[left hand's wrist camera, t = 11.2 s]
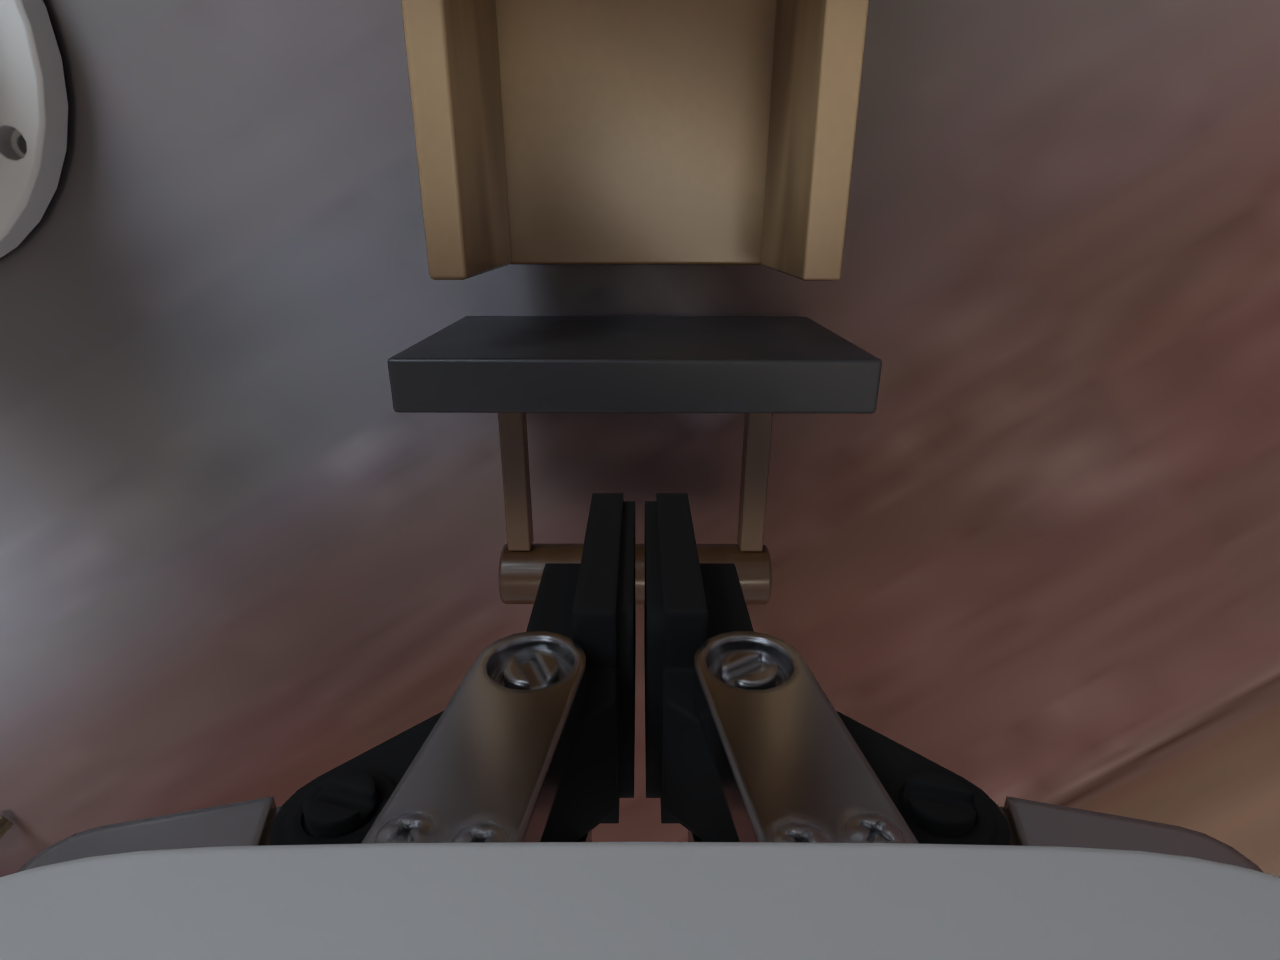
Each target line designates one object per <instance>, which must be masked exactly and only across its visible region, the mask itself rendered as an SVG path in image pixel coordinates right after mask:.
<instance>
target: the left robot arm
mask: <svg viewBox="0 0 1280 960" xmlns="http://www.w3.org/2000/svg"><path fill="white" fill-rule="evenodd" d="M67 127H68V100H67V93H66V86H65V79H64V71H63V64H62V58H61V55H60V51H59V48H58V45H57V41H56V38H55V35H54V32H53V28H52V25H51V22H50V18H49V15H48V12H47V9H46V6H45V4H44V2H43V0H0V258H1V257H3V256H4V255H6V254H7V253H9V252H10V251H12V250H13V249H15V248H16V247H18V246H19V244H20V243H21V242H22V241H23V240H24V239H25V238H26V236H27V235H28V234H29V233H30V232H31V231H32V230H33V229H34V227H35V226H36V225H37V224H38V223H39V222H40V221H41V219H42V217H43V215H44V213H45V211H46V209H47V207H48V205H49V203H50V201H51V199H52V197H53V195H54V193H55V191H56V189H57V186H58V182H59V178H60V174H61V170H62V166H63V162H64V158H65V154H66V150H67ZM635 644H636V629H635V501H623V494H593V495H592V500H591V506H590V512H589V518H588V523H587V529H586V535H585V541H584V546H583V552H582V558H581V563H546V564H545V567H544V570H543V574H542V577H541V581H540V584H539V588H538V592H537V595H536V599H535V602H534V606H533V610H532V613H531V617H530V620H529V624H528V628H527V631H526V632H524V633H518V634H513V635H510V636H508V637H505V638H502V639H499V640H498V641H496V642H494V643H493V644H491V645H490V646H488V647H486V648H485V649H484V651H483V652H482V653H481V654H480V655H479V656H478V657H477V659H476V660H475V662H474V664H473V665H472V667H471V668H470V670H469V672H468V673H467V675H466V676H465V678H464V680H463V681H462V683H461V684H460V686H459V688H458V689H457V691H456V692H455V694H454V696H453V697H452V699H451V700H450V702H449V704H448V705H447V707H446V708H445V710H444V711H442V712H440V713H439V714H437V715H435V716H433V717H431V718H429V719H427V720H425V721H423V722H422V723H420V724H418V725H416V726H414V727H412V728H410V729H408V730H406V731H404V732H403V733H401V734H399V735H397V736H395V737H393V738H391V739H389V740H387V741H386V742H384V743H382V744H380V745H378V746H376V747H374V748H372V749H370V750H368V751H367V752H365V753H363V754H361V755H359V756H357V757H355V758H353V759H351V760H350V761H348V762H346V763H344V764H342V765H340V766H338V767H336V768H334V769H332V770H331V771H329V772H327V773H325V774H323V775H321V776H319V777H317V778H316V779H314V780H313V781H311V782H310V783H308V784H307V785H305V786H303V787H302V788H300V789H299V790H298V791H297V792H296V793H295V794H293V795H292V796H291V797H290V798H289V799H288V800H287V801H286V802H285V803H284V804H283V805H282V806H281V807H276V805H275V801H274V797H267V798H261V799H255V800H250V801H244V802H238V803H232V804H227V805H221V806H215V807H209V808H204V809H198V810H192V811H186V812H181V813H175V814H169V815H163V816H158V817H152V818H146V819H140V820H135V821H129V822H123V823H117V824H111V825H106V826H100V827H97V828H93V829H90V830H87V831H83V832H80V833H76V834H74V835H72V836H70V837H68V838H66V839H64V840H62V841H60V842H58V843H56V844H54V845H52V846H50V847H48V848H46V849H45V850H43V851H42V852H41V853H39V854H38V855H37V856H35V857H34V858H33V859H31V860H30V861H28V862H27V863H26V864H24V865H23V866H22V867H21V868H20V869H19V870H18V871H17V873H14V874H10V875H7V876H3V877H0V960H1280V877H1277V876H1273V875H1270V874H1266V873H1263V871H1262V870H1261V869H1260V868H1259V867H1258V866H1257V865H1256V864H1254V863H1253V862H1252V861H1250V860H1249V859H1247V858H1246V857H1245V856H1243V855H1242V854H1241V853H1239V852H1238V851H1237V850H1235V849H1234V848H1232V847H1230V846H1228V845H1226V844H1224V843H1222V842H1220V841H1218V840H1216V839H1214V838H1212V837H1210V836H1208V835H1206V834H1204V833H1200V832H1197V831H1193V830H1190V829H1187V828H1183V827H1180V826H1174V825H1169V824H1163V823H1157V822H1151V821H1145V820H1140V819H1134V818H1128V817H1122V816H1117V815H1111V814H1105V813H1099V812H1094V811H1088V810H1082V809H1076V808H1071V807H1065V806H1059V805H1053V804H1048V803H1042V802H1036V801H1030V800H1025V799H1019V798H1013V797H1006V801H1005V805H1004V807H999V806H998V805H997V804H996V803H995V802H994V801H993V800H992V799H991V798H990V797H989V796H988V795H986V794H985V793H984V792H983V791H982V790H981V789H980V788H978V787H977V786H975V785H973V784H972V783H970V782H969V781H967V780H966V779H964V778H963V777H961V776H959V775H957V774H955V773H953V772H951V771H949V770H948V769H946V768H944V767H942V766H940V765H938V764H936V763H934V762H932V761H930V760H929V759H927V758H925V757H923V756H921V755H919V754H917V753H915V752H913V751H912V750H910V749H908V748H906V747H904V746H902V745H900V744H898V743H896V742H894V741H893V740H891V739H889V738H887V737H885V736H883V735H881V734H879V733H877V732H876V731H874V730H872V729H870V728H868V727H866V726H864V725H862V724H860V723H858V722H857V721H855V720H853V719H851V718H849V717H847V716H845V715H843V714H841V713H840V712H838V711H836V710H835V708H834V707H833V705H832V704H831V702H830V700H829V699H828V697H827V696H826V694H825V692H824V691H823V689H822V688H821V686H820V684H819V683H818V681H817V680H816V678H815V676H814V675H813V673H812V672H811V670H810V668H809V667H808V665H807V664H806V662H805V660H804V659H803V657H802V656H801V655H800V654H799V653H798V652H797V651H796V649H795V648H794V647H792V646H790V645H789V644H787V643H786V642H784V641H782V640H781V639H778V638H775V637H772V636H770V635H767V634H762V633H756V632H754V631H753V628H752V624H751V620H750V617H749V613H748V610H747V606H746V602H745V599H744V595H743V592H742V588H741V584H740V581H739V577H738V574H737V570H736V567H735V564H734V563H699V558H698V552H697V546H696V541H695V535H694V529H693V523H692V518H691V512H690V506H689V500H688V495H687V494H657V501H645V628H644V644H645V744H646V798H661V823H680V824H682V825H683V826H684V827H685V828H687V829H688V842H592V829H593V828H595V827H596V826H597V825H598V824H600V823H619V798H634V744H635Z"/></svg>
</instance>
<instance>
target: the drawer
mask: <svg viewBox="0 0 1280 960" xmlns="http://www.w3.org/2000/svg"><path fill="white" fill-rule="evenodd" d="M401 5H402V14H403V24H404V34H405V43H406V53H407V63H408V73H409V82H410V92H411V102H412V112H413V121H414V131H415V141H416V150H417V160H418V170H419V180H420V189H421V199H422V209H423V218H424V228H425V238H426V248H427V257H428V267H429V275H430V277H431V278H432V279H434V280H464V279H467V278H470V277H473V276H476V275H479V274H482V273H485V272H488V271H491V270H494V269H497V268H500V267H503V266H506V265H509V264H591V265H763V266H766V267H769V268H772V269H774V270H777V271H780V272H783V273H785V274H788V275H791V276H794V277H797V278H799V279H802V280H805V281H838V280H840V278H841V269H842V260H843V250H844V240H845V230H846V221H847V211H848V201H849V191H850V182H851V172H852V162H853V152H854V142H855V133H856V123H857V113H858V103H859V94H860V84H861V74H862V64H863V55H864V45H865V35H866V25H867V16H868V6H869V0H401ZM881 366H882V362H881V360H880V359H878V358H876V357H875V356H873V355H871V354H870V353H868V352H866V351H864V350H863V349H861V348H859V347H857V346H856V345H854V344H852V343H851V342H849V341H847V340H845V339H844V338H842V337H840V336H838V335H837V334H835V333H833V332H831V331H830V330H828V329H826V328H825V327H823V326H821V325H819V324H818V323H816V322H814V321H812V320H811V319H809V318H807V317H621V316H466V317H464V318H462V319H460V320H459V321H457V322H455V323H453V324H451V325H449V326H448V327H446V328H444V329H442V330H440V331H439V332H437V333H435V334H433V335H431V336H429V337H428V338H426V339H424V340H422V341H420V342H418V343H417V344H415V345H413V346H411V347H409V348H408V349H406V350H404V351H402V352H400V353H398V354H397V355H395V356H393V357H391V358H389V359H388V369H389V377H390V384H391V392H392V400H393V408H394V411H395V412H454V413H498V420H499V434H500V447H501V461H502V474H503V488H504V502H505V515H506V529H507V542H508V544H506V545H504V547H503V550H502V553H501V557H500V564H499V590H500V596H501V599H502V601H503V603H505V604H534V602H535V599H536V595H537V592H538V588H539V584H540V581H541V577H542V574H543V570H544V567H545V564H546V563H581V558H582V552H583V546H584V544H532V543H533V525H532V508H531V491H530V474H529V457H528V440H527V423H526V413H745V420H744V437H743V454H742V471H741V488H740V506H739V523H738V540H737V542H738V544H696V546H697V552H698V558H699V563H734V564H735V567H736V570H737V574H738V577H739V581H740V584H741V588H742V592H743V595H744V599H745V602H746V604H750V605H764V604H767V603H768V601H769V598H770V593H771V582H772V573H771V560H770V555H769V551H768V548H767V546H766V545H764V544H763V538H764V524H765V511H766V497H767V484H768V470H769V456H770V443H771V429H772V415H773V413H874V412H875V410H876V405H877V397H878V389H879V381H880V374H881ZM635 604H645V544H635Z"/></svg>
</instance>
